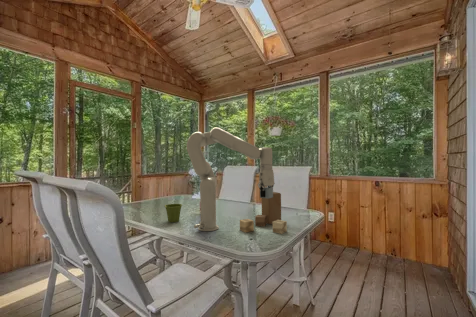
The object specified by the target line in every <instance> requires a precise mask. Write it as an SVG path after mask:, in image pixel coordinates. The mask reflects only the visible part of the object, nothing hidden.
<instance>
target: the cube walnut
mask: <svg viewBox="0 0 476 317" xmlns="http://www.w3.org/2000/svg"><path fill="white" fill-rule="evenodd" d="M254 217H255V218H254V220H255V221H254V223H255V224H254V226H255V227H264V228H265V226H266V225H267V215H262V214H256V215H255V216H254ZM266 227H267V226H266Z"/></svg>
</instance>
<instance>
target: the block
mask: <svg viewBox="0 0 476 317" xmlns="http://www.w3.org/2000/svg"><path fill="white" fill-rule="evenodd" d="M261 215H267V224H268V225H273V221H276V220H282V193H281V192H275V191H273V197H272V198H269V199H268V198H261ZM267 224H266V225H267Z"/></svg>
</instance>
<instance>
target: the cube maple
mask: <svg viewBox="0 0 476 317" xmlns="http://www.w3.org/2000/svg"><path fill="white" fill-rule="evenodd" d="M287 228H288V223H287V220H282V219H281V220H276V221H273V224H272V233H276V234H281V235H283V234H284V233H286V232H288V230H287Z"/></svg>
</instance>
